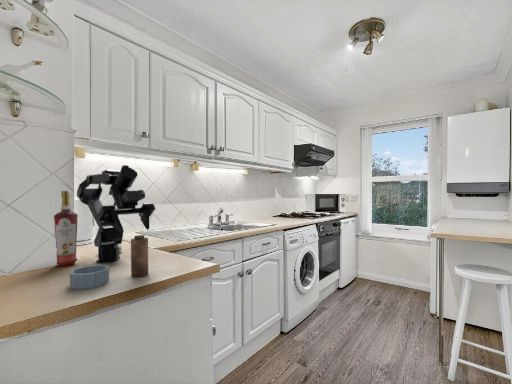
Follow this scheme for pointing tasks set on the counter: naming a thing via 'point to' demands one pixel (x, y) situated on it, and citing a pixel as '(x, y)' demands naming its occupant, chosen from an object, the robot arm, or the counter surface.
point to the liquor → (66, 232)
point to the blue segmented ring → (89, 277)
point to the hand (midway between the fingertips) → (136, 230)
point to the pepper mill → (139, 256)
